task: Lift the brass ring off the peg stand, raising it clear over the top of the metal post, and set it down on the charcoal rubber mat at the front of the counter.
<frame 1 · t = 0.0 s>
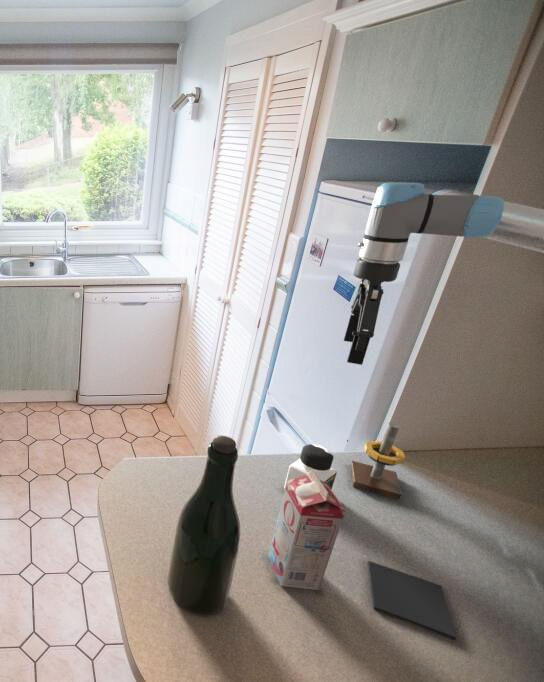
hand: (352, 351, 104), 31 cm above the countertop, tool pointing down, fingers open, 13 cm apart
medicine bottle: (306, 493, 106), on the countertop
rubber mat: (407, 598, 81), on the countertop
green wine bottle: (196, 592, 82), on the countertop
juice carton: (292, 573, 86), on the countertop
brass ring: (383, 454, 105), point 8 cm above the countertop, touching peg stand
peg stand: (373, 481, 109), on the countertop
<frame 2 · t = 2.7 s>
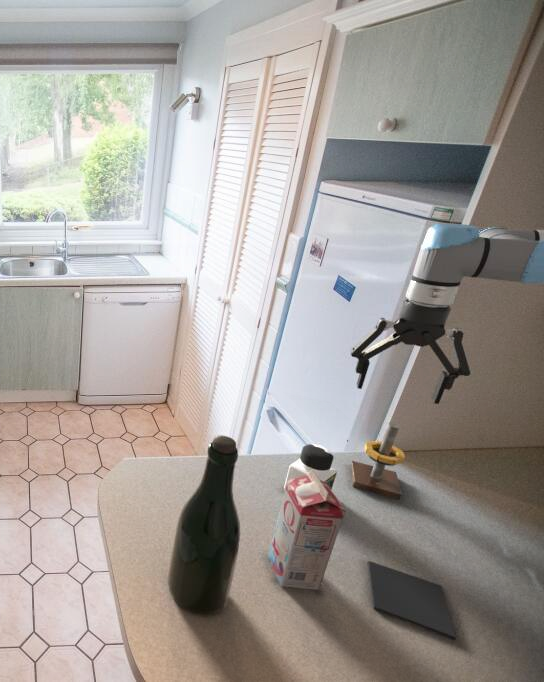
hand: (395, 393, 100), 24 cm above the countertop, tool pointing down, fingers open, 13 cm apart
nothing on the countertop moved.
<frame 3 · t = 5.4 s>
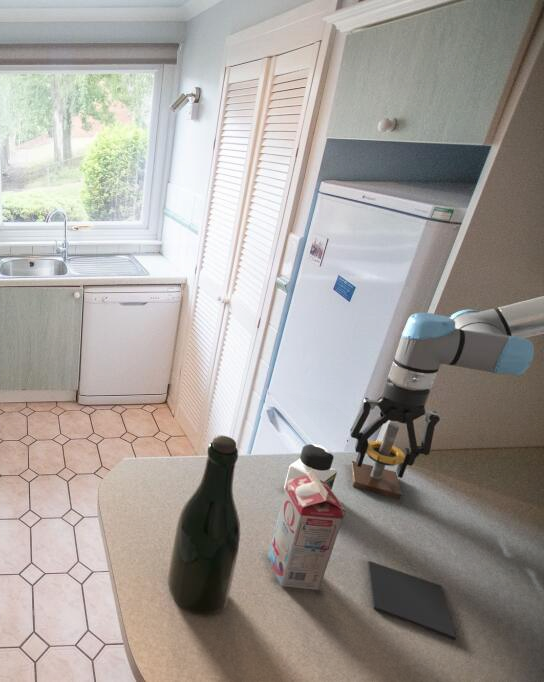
hand: (378, 468, 107), 4 cm above the countertop, tool pointing down, fingers closed on brass ring, 7 cm apart
brass ring: (383, 454, 105), point 8 cm above the countertop, touching gripper, peg stand
everything else where it was.
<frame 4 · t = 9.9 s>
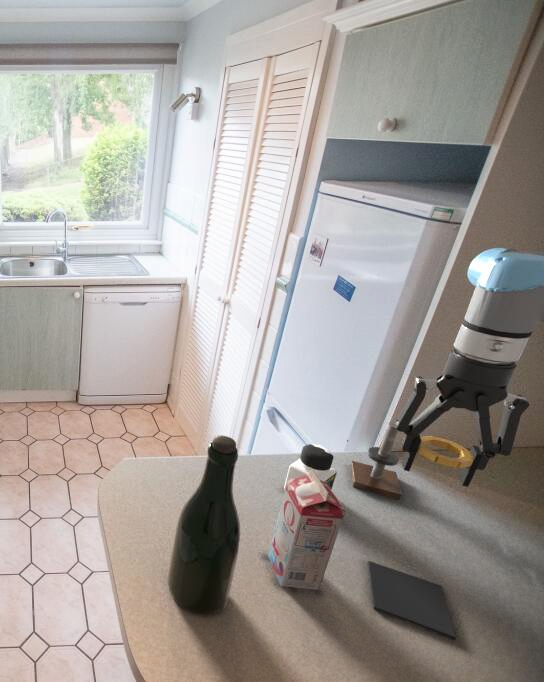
hand: (433, 473, 79), 22 cm above the countertop, tool pointing down, fingers closed on brass ring, 7 cm apart
brass ring: (441, 454, 77), point 26 cm above the countertop, touching gripper
everything else where it was.
when the fingers open (1 cm above the countertop, at t = 14.8 s): brass ring stays where it is, point 5 cm above the countertop.
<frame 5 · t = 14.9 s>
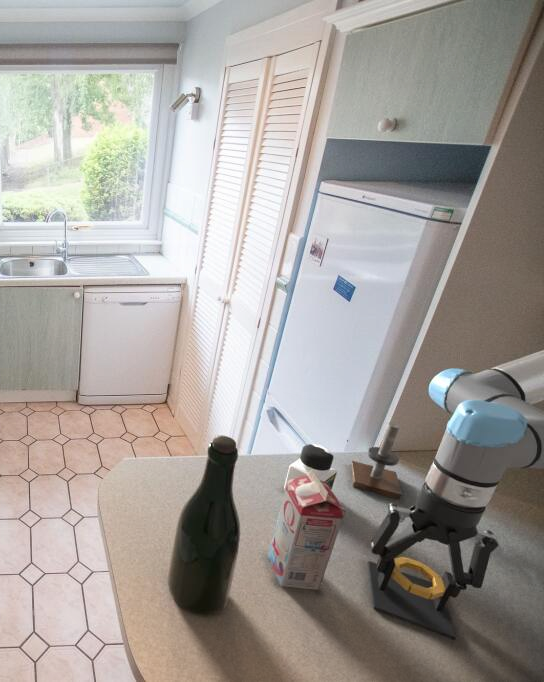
hand: (408, 594, 80), 1 cm above the countertop, tool pointing down, fingers open, 7 cm apart
brass ring: (415, 579, 79), point 5 cm above the countertop
everything else where it was.
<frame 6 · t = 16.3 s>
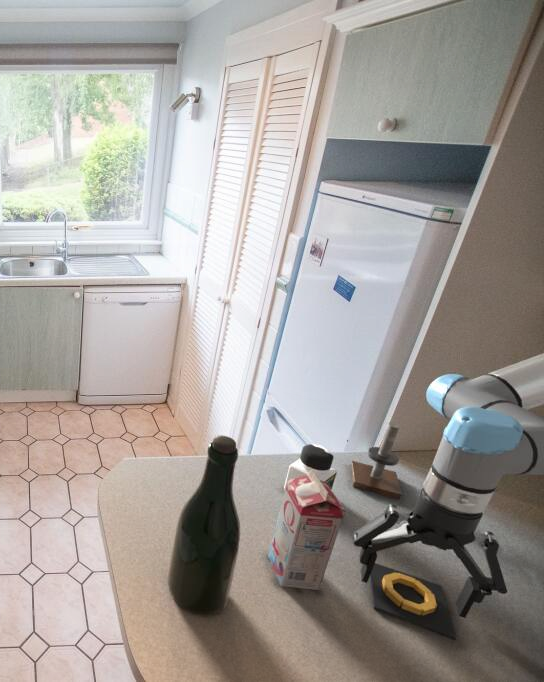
hand: (410, 593, 80), 1 cm above the countertop, tool pointing down, fingers open, 13 cm apart
brass ring: (407, 595, 80), point 1 cm above the countertop, touching rubber mat
everything else where it was.
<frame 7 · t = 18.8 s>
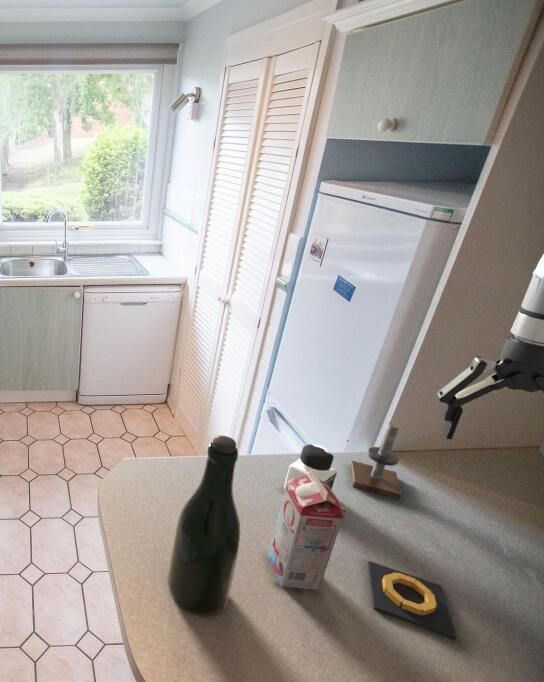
hand: (494, 444, 84), 23 cm above the countertop, tool pointing down, fingers open, 13 cm apart
nothing on the countertop moved.
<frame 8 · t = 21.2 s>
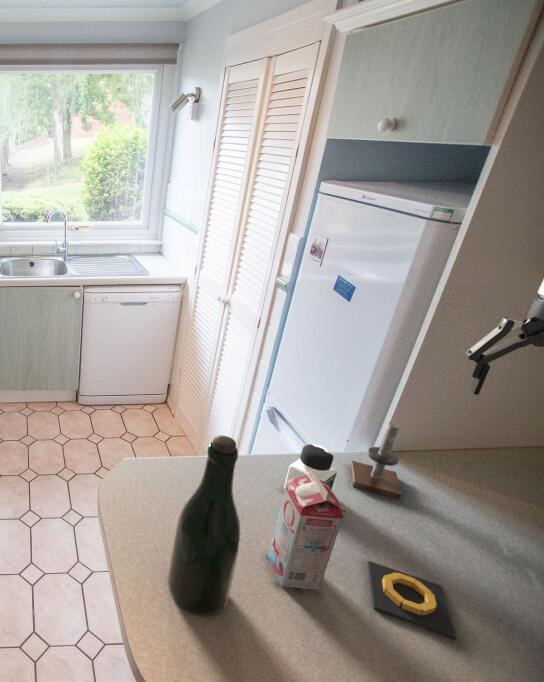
hand: (518, 399, 91), 27 cm above the countertop, tool pointing down, fingers open, 13 cm apart
nothing on the countertop moved.
at the end: brass ring inside the target area on the rubber mat (0.2 cm from its centre), point 0.6 cm above the rubber mat's base; brass ring tilted 0°; the gripper is holding nothing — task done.
